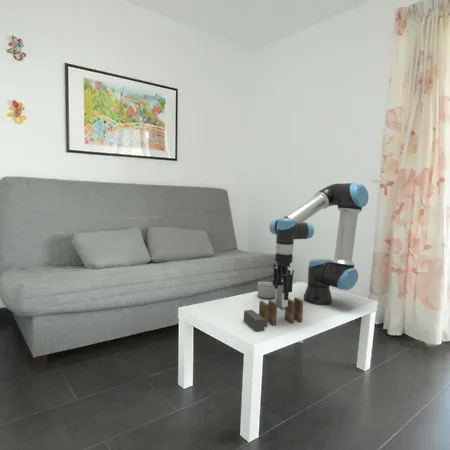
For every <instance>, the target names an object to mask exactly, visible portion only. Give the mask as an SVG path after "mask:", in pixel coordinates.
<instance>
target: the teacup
mask: <svg viewBox="0 0 450 450" xmlns="http://www.w3.org/2000/svg"><path fill="white" fill-rule="evenodd" d="M275 289H276V288H275V286H273V281H272V282H271V281H258V282H257V291H256V292H257V295H258V296H259V297H260V298H261V299H268V300H270V299H273V298H275Z"/></svg>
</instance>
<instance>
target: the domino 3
mask: <svg viewBox="0 0 450 450" xmlns="http://www.w3.org/2000/svg"><path fill="white" fill-rule="evenodd" d="M282 291H283V284H281V285H278V287H277V309H279V310H281V311H285V307H281V305H282Z"/></svg>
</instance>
